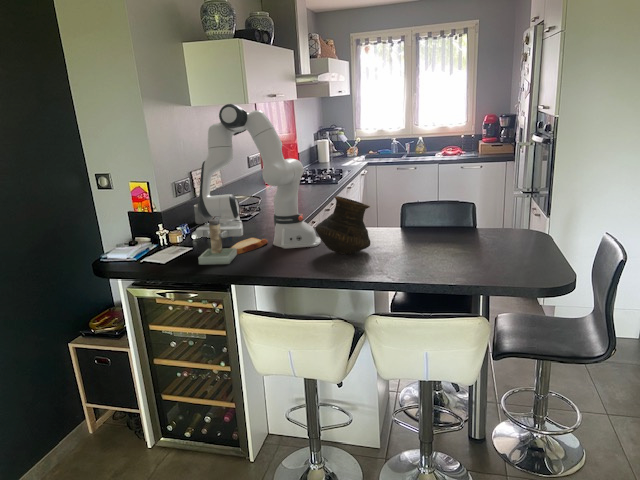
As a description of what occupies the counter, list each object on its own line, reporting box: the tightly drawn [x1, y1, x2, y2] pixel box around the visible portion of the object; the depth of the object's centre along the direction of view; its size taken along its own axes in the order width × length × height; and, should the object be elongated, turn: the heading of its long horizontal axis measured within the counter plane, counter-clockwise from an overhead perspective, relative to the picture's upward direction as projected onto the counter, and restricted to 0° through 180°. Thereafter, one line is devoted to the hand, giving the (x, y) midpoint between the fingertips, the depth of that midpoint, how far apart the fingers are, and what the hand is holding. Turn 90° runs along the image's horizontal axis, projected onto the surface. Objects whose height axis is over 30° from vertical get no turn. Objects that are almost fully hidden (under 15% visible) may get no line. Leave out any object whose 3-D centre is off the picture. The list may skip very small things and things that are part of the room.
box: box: [197, 247, 238, 265], centre depth 208 cm, size 13×13×3 cm
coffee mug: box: [193, 203, 214, 225], centre depth 280 cm, size 13×10×10 cm
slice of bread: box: [230, 237, 269, 255], centre depth 224 cm, size 18×18×4 cm
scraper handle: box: [208, 219, 223, 253], centre depth 206 cm, size 4×4×14 cm
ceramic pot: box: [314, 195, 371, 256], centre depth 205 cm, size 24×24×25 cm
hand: (214, 235), depth 205 cm, fingers closed on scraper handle, 3 cm apart
